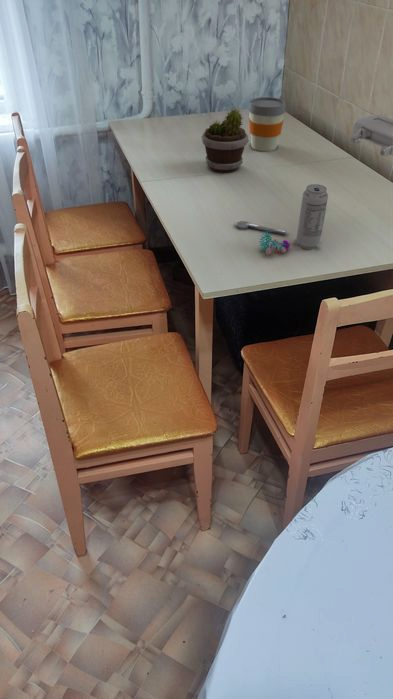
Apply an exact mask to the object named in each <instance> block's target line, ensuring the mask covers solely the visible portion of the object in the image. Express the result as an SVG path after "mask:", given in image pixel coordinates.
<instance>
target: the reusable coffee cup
mask: <svg viewBox="0 0 393 699" xmlns="http://www.w3.org/2000/svg"><path fill="white" fill-rule="evenodd" d="M248 112H249V117H248V131H249V134H250V146H251V148H252V149H253V150H254V151H255V150H256V151H259V152H271V151H274V150H276V149H277V146H278V141H279V137H280V136H281V134H282V130H283V125H284V121H285V120H284V114H285V113H286V101H285V100H283V99H281V98H277V97H269V96H264V97H263V96H261V97H254V98H252V99H250V101H249V105H248Z"/></svg>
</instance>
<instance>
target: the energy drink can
mask: <svg viewBox="0 0 393 699" xmlns="http://www.w3.org/2000/svg"><path fill="white" fill-rule="evenodd" d="M327 190H328V189H327V187H326V186H325V185H323V184H319V183H312V184H311V183H310V184H308V185H307V186H306V187H305V189H304V191H303V192H302V198H301V204H300V212H299V219H298V226H297V234H296V241H295V242H296V243H297V245H298V247H299V248H302V249H305V250H314V249H317V247H318V246H320V244H321V239H322V235H323V229H324V224H325V218H326V213H327V212H326V211H327V206H328V200H329V193H328V192H327Z"/></svg>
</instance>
